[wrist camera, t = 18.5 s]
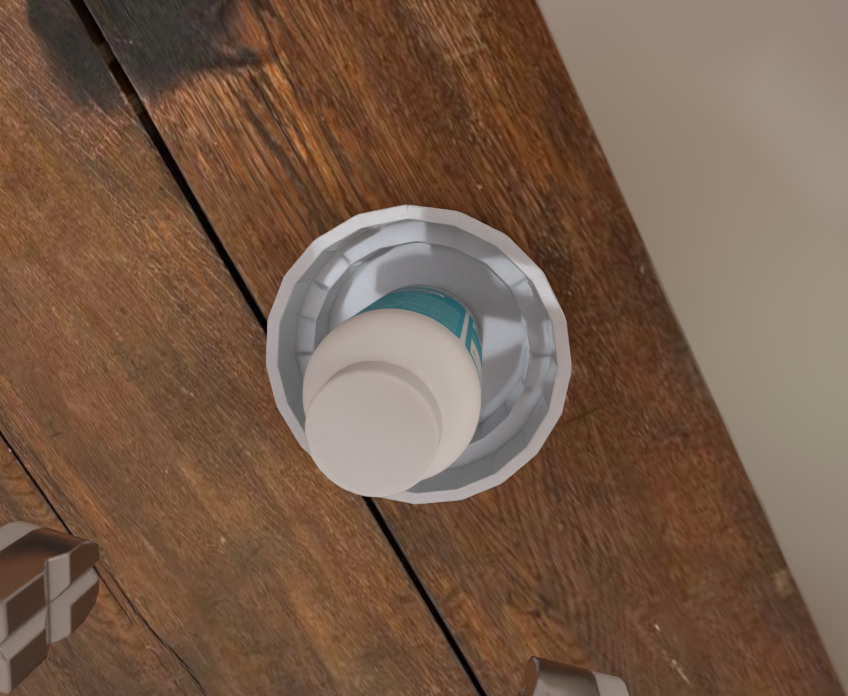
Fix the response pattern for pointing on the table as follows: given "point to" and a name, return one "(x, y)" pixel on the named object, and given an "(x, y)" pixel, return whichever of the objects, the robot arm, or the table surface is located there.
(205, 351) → the table surface
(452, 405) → the pill bottle
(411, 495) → the faceted round dish
